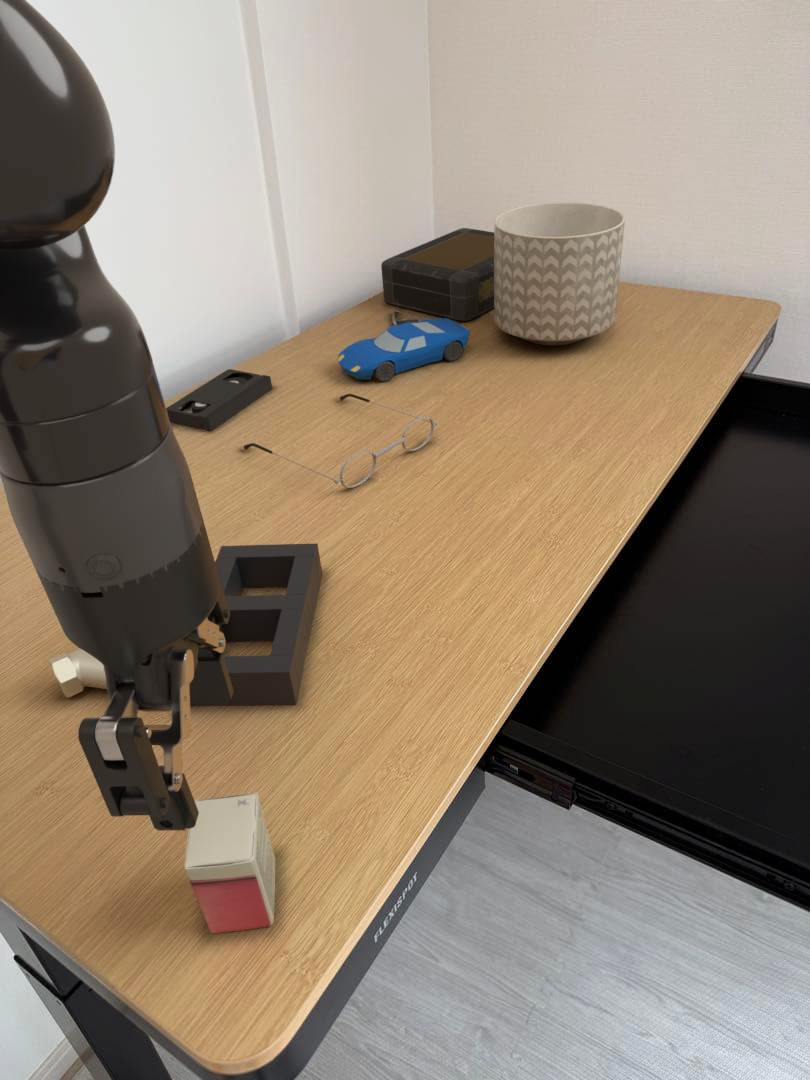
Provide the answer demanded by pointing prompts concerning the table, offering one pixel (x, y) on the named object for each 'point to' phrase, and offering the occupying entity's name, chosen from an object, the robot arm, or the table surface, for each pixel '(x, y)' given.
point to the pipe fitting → (78, 672)
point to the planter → (557, 271)
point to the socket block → (268, 618)
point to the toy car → (404, 348)
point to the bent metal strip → (398, 322)
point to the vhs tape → (219, 399)
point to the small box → (232, 863)
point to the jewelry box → (444, 275)
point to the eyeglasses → (364, 451)
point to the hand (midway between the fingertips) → (198, 757)
